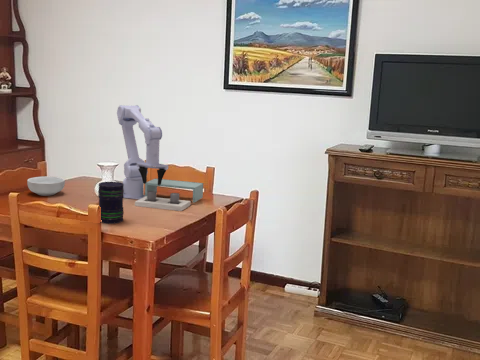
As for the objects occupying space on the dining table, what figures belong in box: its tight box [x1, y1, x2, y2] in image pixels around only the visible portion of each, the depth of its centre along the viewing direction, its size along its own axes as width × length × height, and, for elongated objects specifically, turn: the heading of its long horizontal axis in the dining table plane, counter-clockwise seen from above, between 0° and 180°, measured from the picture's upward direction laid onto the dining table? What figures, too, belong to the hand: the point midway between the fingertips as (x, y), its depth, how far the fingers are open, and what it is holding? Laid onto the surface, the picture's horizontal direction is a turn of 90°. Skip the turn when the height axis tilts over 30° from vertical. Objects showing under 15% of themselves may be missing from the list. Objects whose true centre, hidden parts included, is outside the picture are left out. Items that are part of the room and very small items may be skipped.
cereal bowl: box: [27, 175, 66, 197], centre depth 267 cm, size 17×17×7 cm
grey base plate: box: [134, 196, 191, 212], centre depth 256 cm, size 22×12×2 cm, turn 76°
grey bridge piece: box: [144, 177, 204, 203], centre depth 269 cm, size 25×12×7 cm, turn 76°
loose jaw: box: [147, 191, 157, 202], centre depth 257 cm, size 4×4×6 cm
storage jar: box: [97, 181, 125, 225], centre depth 225 cm, size 10×10×15 cm
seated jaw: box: [169, 192, 180, 204], centre depth 254 cm, size 4×4×6 cm
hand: (152, 184), depth 256 cm, fingers open, 6 cm apart
